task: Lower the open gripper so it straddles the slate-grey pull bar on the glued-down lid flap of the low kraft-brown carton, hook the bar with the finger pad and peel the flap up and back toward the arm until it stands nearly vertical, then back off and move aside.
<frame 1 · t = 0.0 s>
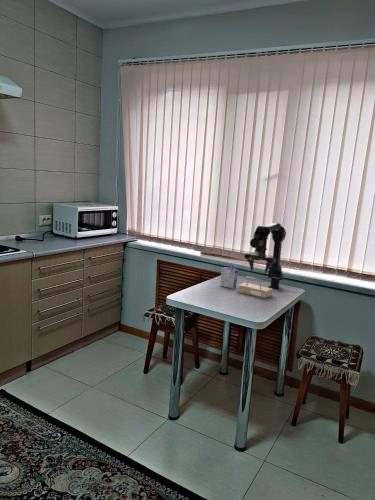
hand: (258, 272, 234), 15 cm above the table, fingers open, 9 cm apart
flap: (255, 282, 238), point 7 cm above the table, hinge at 0.0°
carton: (254, 294, 239), on the table
ink cartridge box: (228, 287, 252), on the table
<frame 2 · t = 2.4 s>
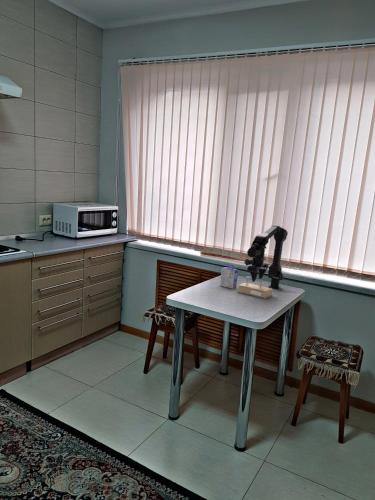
hand: (256, 280, 238), 8 cm above the table, fingers open, 9 cm apart
flap: (255, 282, 238), point 7 cm above the table, hinge at 0.4°, touching gripper
everything else where it was.
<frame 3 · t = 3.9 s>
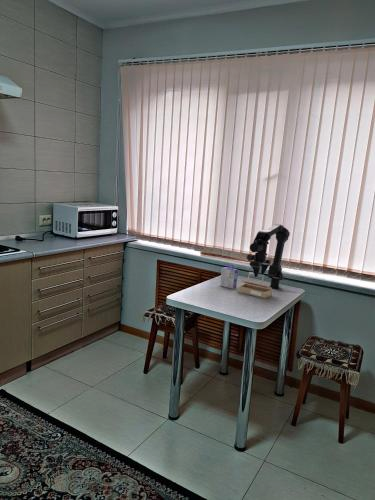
hand: (258, 276, 240), 11 cm above the table, fingers open, 9 cm apart
flap: (257, 279, 239), point 9 cm above the table, hinge at 21.6°, touching gripper
everything else where it was.
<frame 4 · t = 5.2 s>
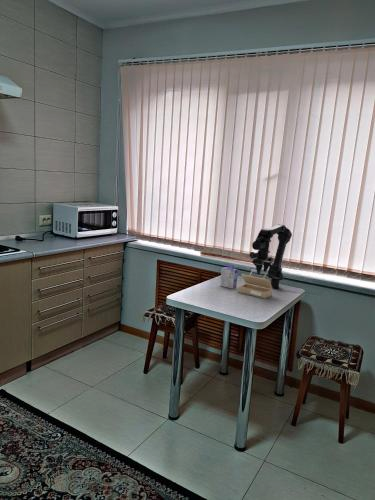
hand: (261, 273, 243), 12 cm above the table, fingers open, 9 cm apart
flap: (258, 277, 240), point 10 cm above the table, hinge at 43.8°, touching gripper
everything else where it was.
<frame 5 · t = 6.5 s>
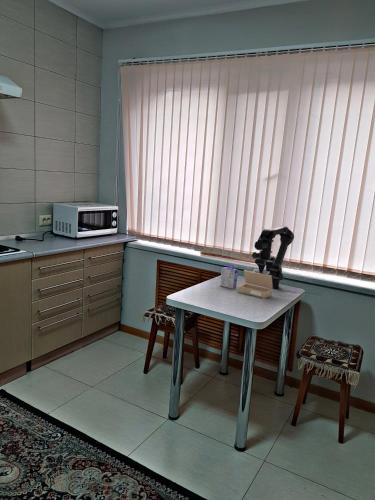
hand: (263, 273, 246), 12 cm above the table, fingers open, 9 cm apart
flap: (260, 276, 242), point 10 cm above the table, hinge at 66.7°, touching gripper
everything else where it was.
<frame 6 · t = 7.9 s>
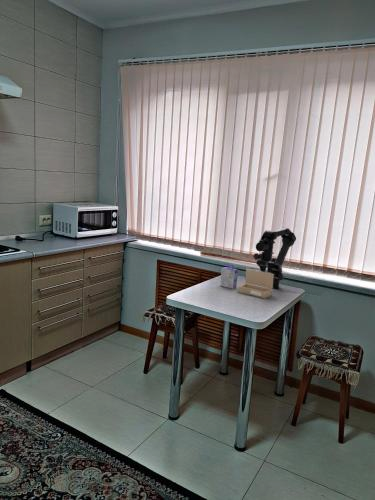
hand: (265, 274, 248), 11 cm above the table, fingers open, 9 cm apart
flap: (261, 277, 243), point 10 cm above the table, hinge at 83.8°, touching gripper
everything else where it was.
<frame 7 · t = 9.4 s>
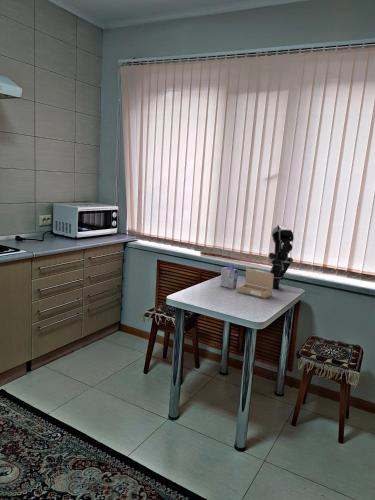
hand: (280, 274, 240), 13 cm above the table, fingers open, 9 cm apart
flap: (261, 277, 243), point 10 cm above the table, hinge at 83.8°
everything else where it was.
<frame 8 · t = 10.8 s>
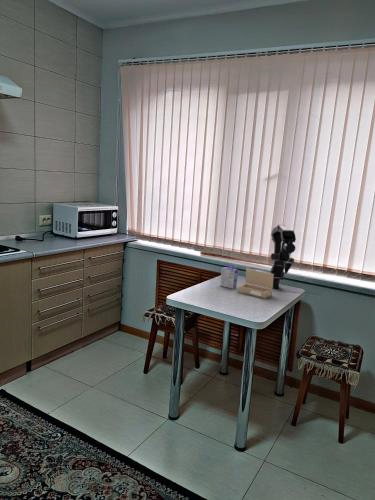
hand: (282, 274, 240), 13 cm above the table, fingers open, 9 cm apart
nothing on the table moved.
at the end: flap at +84° (first picture: +0°); the gripper is holding nothing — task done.
